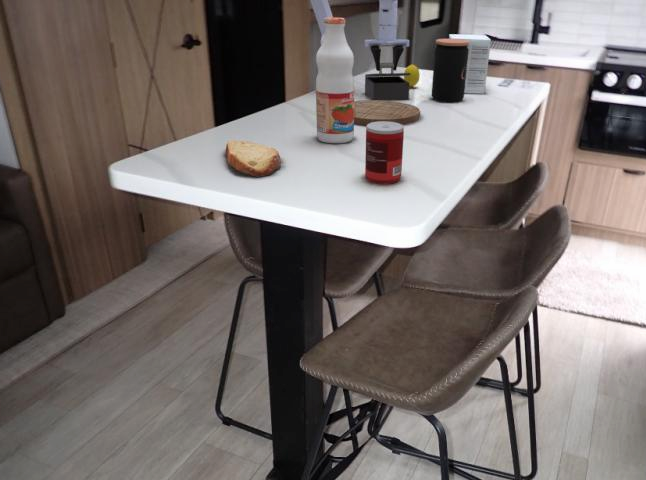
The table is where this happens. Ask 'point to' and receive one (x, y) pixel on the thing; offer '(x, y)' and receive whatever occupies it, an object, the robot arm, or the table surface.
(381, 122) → the canned food
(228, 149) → the bread slice
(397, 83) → the dark grey square box
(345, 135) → the fruit juice
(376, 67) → the robot arm
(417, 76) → the lemon
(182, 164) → the table surface
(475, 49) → the supplement box
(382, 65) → the dark grey box lid
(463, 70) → the coffee jar
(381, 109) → the trivet
